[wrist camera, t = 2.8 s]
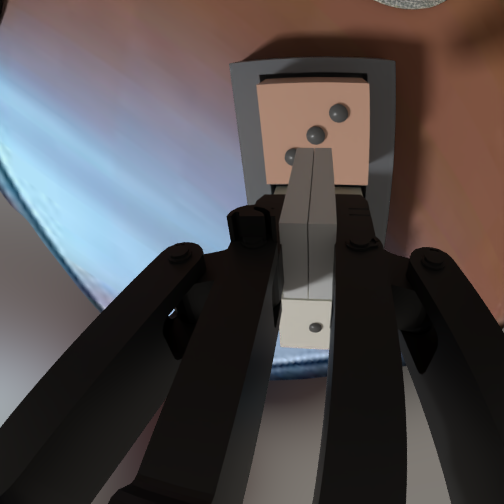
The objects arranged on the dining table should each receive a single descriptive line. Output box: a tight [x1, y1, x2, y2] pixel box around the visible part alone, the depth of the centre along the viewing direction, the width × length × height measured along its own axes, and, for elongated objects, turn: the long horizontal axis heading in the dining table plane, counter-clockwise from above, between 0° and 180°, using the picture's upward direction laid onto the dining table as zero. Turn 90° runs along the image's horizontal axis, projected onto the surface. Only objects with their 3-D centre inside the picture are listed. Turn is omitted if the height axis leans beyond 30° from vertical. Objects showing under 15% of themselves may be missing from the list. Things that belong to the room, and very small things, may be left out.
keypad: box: [229, 56, 396, 248], centre depth 29 cm, size 12×28×4 cm, turn 6°
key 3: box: [256, 77, 370, 185], centre depth 21 cm, size 7×7×4 cm
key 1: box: [279, 289, 332, 349], centre depth 31 cm, size 7×7×4 cm
